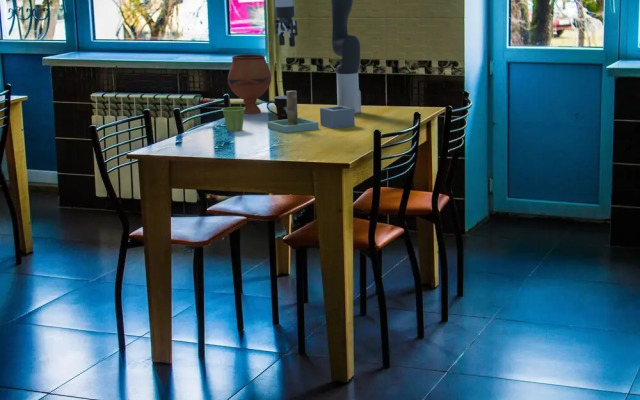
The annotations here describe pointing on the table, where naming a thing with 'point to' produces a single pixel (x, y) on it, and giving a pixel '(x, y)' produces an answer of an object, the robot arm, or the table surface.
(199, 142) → the table surface
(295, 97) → the dowel
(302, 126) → the tray
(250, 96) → the goblet
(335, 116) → the blue storage bin
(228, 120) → the plant pot
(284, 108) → the coffee mug
